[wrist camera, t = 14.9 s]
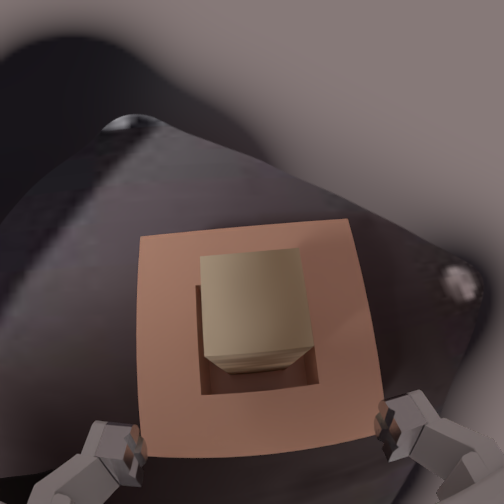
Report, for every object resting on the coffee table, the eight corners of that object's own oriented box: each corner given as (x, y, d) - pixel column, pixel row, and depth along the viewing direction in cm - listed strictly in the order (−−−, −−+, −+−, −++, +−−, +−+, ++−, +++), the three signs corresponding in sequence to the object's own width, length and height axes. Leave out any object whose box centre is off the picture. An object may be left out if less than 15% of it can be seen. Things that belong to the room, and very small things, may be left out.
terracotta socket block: (168, 443, 20) (143, 455, 15) (162, 269, 27) (140, 236, 22) (358, 424, 21) (387, 431, 16) (330, 253, 27) (347, 218, 22)
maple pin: (230, 375, 22) (204, 356, 11) (225, 323, 23) (200, 256, 13) (284, 370, 22) (314, 345, 11) (278, 318, 24) (298, 247, 13)
